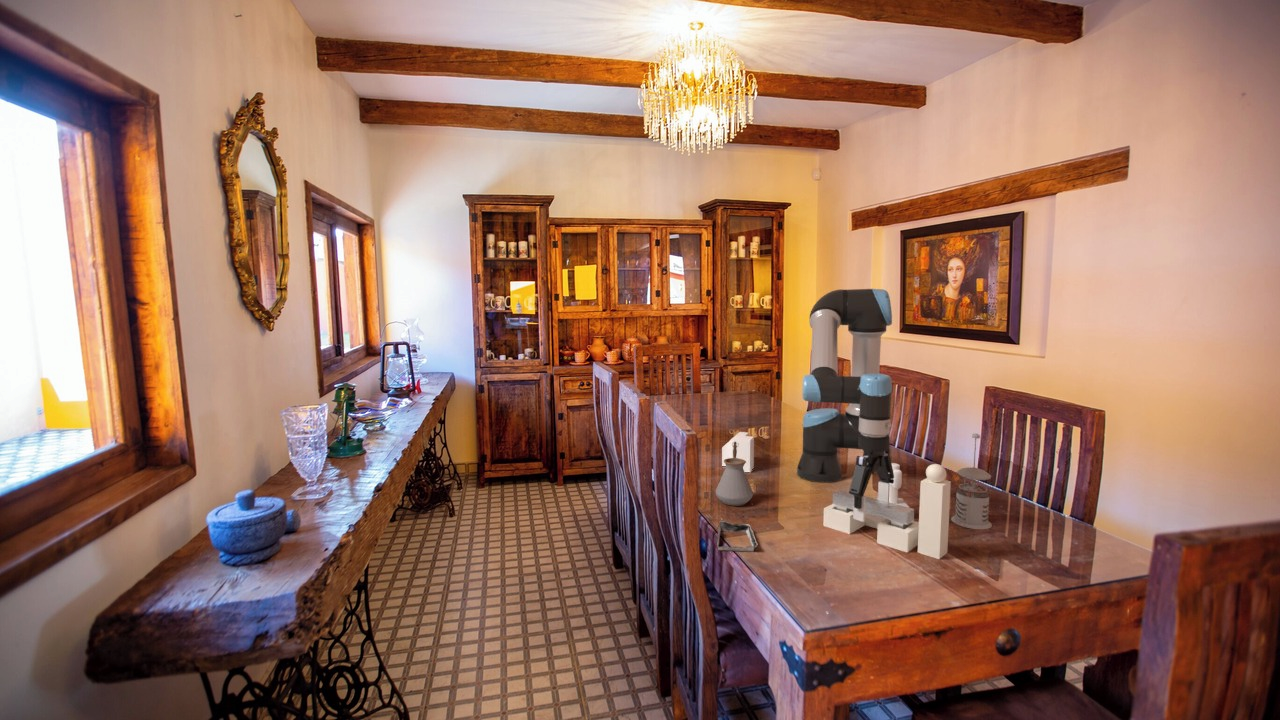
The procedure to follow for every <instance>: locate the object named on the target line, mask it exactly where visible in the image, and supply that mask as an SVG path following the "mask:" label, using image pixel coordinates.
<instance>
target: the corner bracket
mask: <svg viewBox="0 0 1280 720" xmlns="http://www.w3.org/2000/svg"><path fill="white" fill-rule="evenodd" d="M734 442H736V446H737V448H736V449H737V454H736V458H739V459H743V460H745V461H746V463H745V464H744V466H743V470H744V472H750V473H752V472H753V470H754V469H753V468H754V465H755V453H754V452H755V437H754V436H749V432H746V431H739V432H738V433H736V434H735V435H734V436H733V437H732V438H731V439H730V440H729V441H727V443H724V444H725V445H723V446H722V448H721V467H722V466H726V464H725V463H724V460H725V459H728V458H733V449H734V447H733V446H732V445H734ZM732 443H733V444H732ZM738 444H739V446H738ZM752 469H753V470H752Z"/></svg>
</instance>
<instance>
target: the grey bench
mask: <svg viewBox="0 0 1280 720" xmlns="http://www.w3.org/2000/svg"><path fill="white" fill-rule="evenodd" d="M832 504H835V505H836V510H839V511H843V512H846V513H848V512H850V511H852V510H854V495H852V494H849V491H847V490H843V489H839V490H837V491H835V492H833V493H832ZM865 514H868V515H872V516H875V517H879V518H882V519H888V520H891V526H894V527H898V528H901V529H906V528H908V527H909V526H910V523H911V522H912V521H915V508H912V507H910V508H908V507H904V506H901V505H897V504H893V503H889V502H885V501H881V500H877V498H873V497H870V496H866V499H865Z"/></svg>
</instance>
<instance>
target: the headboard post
mask: <svg viewBox="0 0 1280 720" xmlns="http://www.w3.org/2000/svg"><path fill="white" fill-rule="evenodd" d="M925 475H926V478H924V479H922V480H921V481H920V486H919V487H920V488H919V489H920V490H919V511H918V514H919V515H918V521H915V520H914V521H912V522H911V523H910V526H909V527H908V528H906V529H901V528H898V527H894V526H891V520H888V519H884V518H881V517H877V516H874V515H870V514H867V513H865V521H864V522H863V521H859V520H856V519H853V510H852V511H850V512H848V513H846V512H843V511H839V510H836V505H835V504H833V503H832V504H830V505H828V506H826V507H824V508H823V524H822V525H823V526H824V527H825V528H829V529H832V530H835V531H838V532H841V533H844V534H848V535H851V534H852V533H854V532H855V531H857V530H859V529H861V528H862V527H865V526H867V527H870V528H874V529H877V533H876V543H877V544H879V545H882V546H885V547H888V548H891V549H895V550H898V551H901V552H904V553H909V552H910V551H912V550H913V549H914V548H916V547H917V553H918V554H921V555H924V556H927V557H930V558H932V559H937V560H941V559H942V558H943V557H944V556H946V555H947V553H948V545H949V524H950V507H951V506H950V504H951V503H950V502H951V485H952V484H951V483H952V481H950V480H946V478H947V470H946V468H945V467H944V466H943V465H940V464H937V463H934V464H933V463H932V464H930V465H928V466H927V468H926V469H925Z"/></svg>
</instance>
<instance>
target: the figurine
mask: <svg viewBox="0 0 1280 720" xmlns="http://www.w3.org/2000/svg"><path fill="white" fill-rule="evenodd" d="M891 464H892V468H893V473H894V479H893V480H894V483H893V484H892V483H889V484H890V489H889V503H893V504H897V505H901V506H904V507H908V508H911V507H910V506H909V505H908V504H907V502H906V501H905V500H904V499H903V498H902V497H901V498H900V497H899V489H901V488H902V487H901V486H902V484H903V483H902V481H903V471H902V470H901V469H900V464H899V463H896V462H891ZM889 474H890V473H889ZM875 499H877V500H878V496H876V497H875Z"/></svg>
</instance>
